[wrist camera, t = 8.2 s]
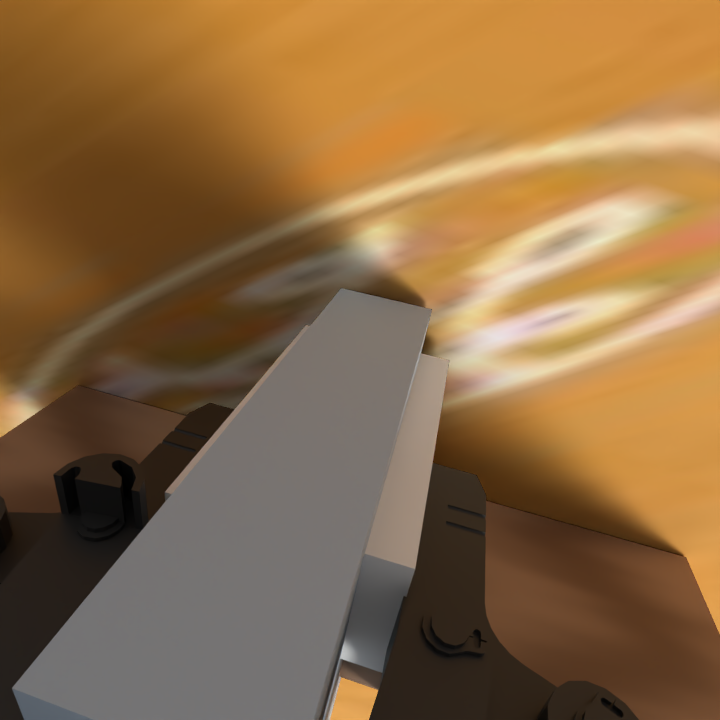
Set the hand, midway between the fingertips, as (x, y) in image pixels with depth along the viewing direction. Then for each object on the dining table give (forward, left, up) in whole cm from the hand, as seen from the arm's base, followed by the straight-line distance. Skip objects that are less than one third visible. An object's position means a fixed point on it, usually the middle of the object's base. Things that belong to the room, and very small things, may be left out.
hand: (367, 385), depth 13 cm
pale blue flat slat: (0, -5, 0) cm, 5 cm away
